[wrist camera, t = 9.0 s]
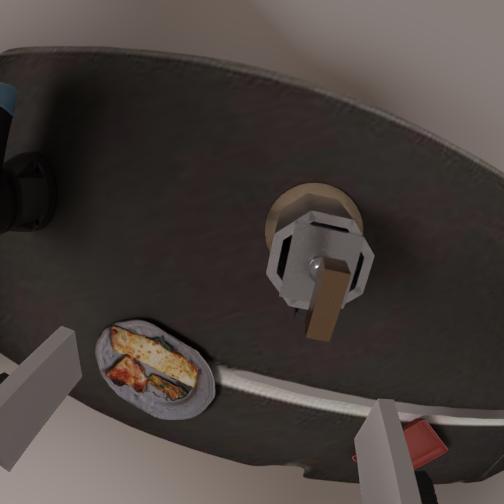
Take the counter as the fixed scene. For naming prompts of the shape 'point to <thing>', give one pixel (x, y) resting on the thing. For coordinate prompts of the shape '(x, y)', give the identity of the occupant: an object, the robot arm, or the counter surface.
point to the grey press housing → (314, 242)
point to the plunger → (325, 293)
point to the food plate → (153, 369)
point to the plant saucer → (421, 442)
